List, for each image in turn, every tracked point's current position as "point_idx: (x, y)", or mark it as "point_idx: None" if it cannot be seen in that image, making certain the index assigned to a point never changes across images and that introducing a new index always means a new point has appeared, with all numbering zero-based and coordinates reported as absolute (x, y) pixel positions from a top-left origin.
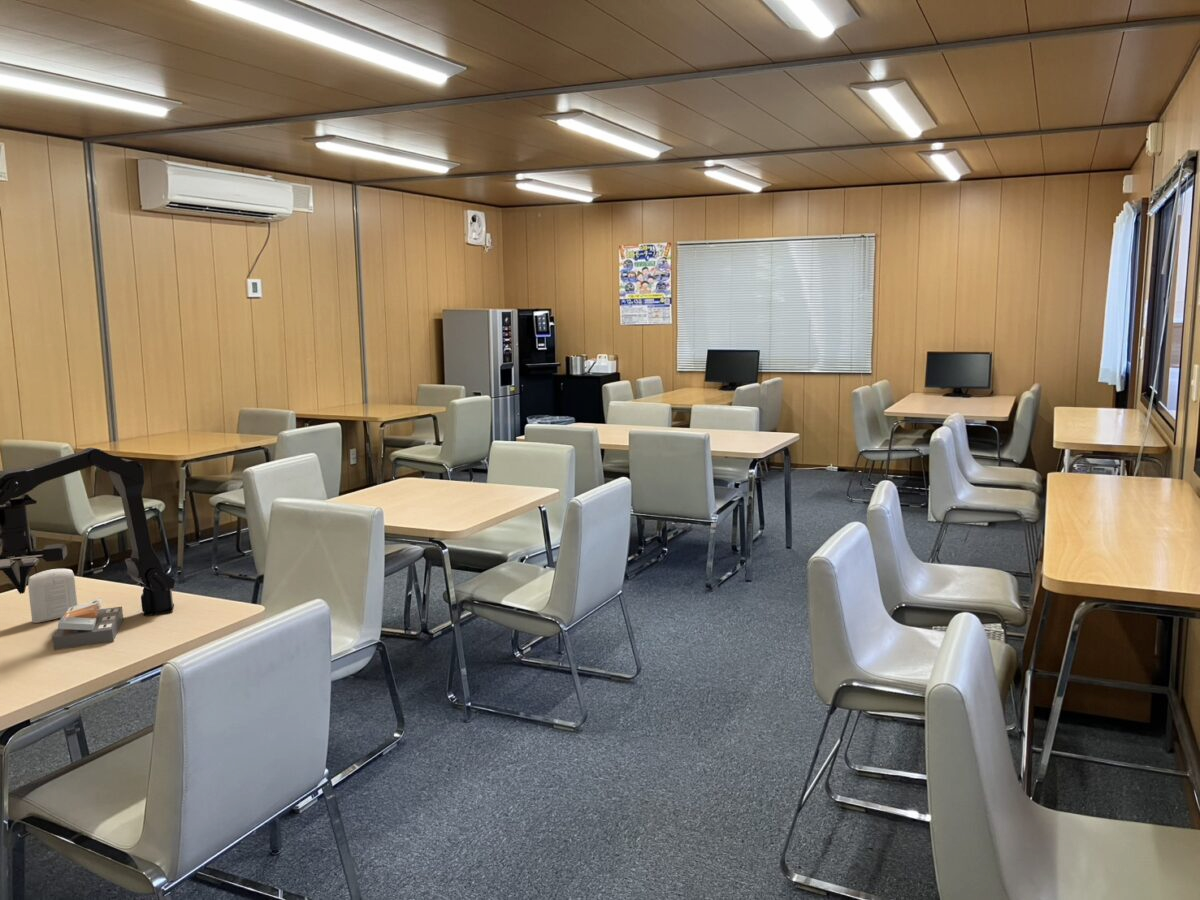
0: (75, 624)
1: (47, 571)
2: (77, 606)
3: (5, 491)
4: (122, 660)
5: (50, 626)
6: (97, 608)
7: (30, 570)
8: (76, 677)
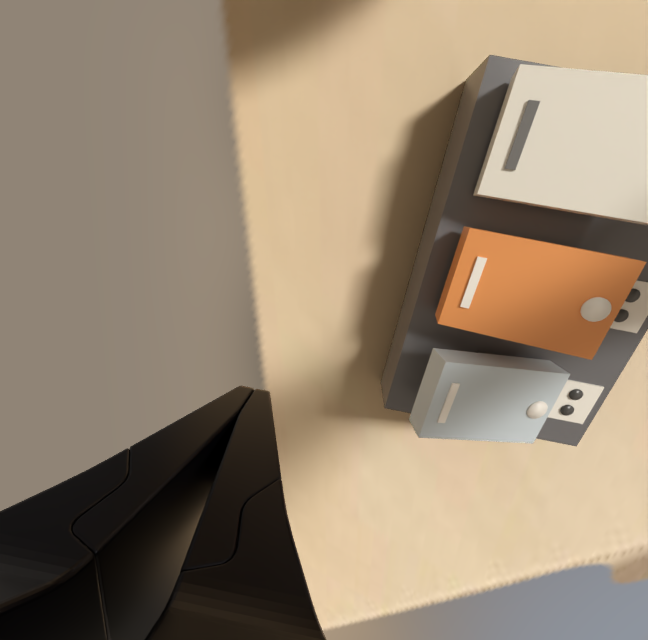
0: (474, 438)
1: None
2: (563, 109)
3: None
4: (518, 550)
5: (392, 42)
6: (630, 277)
7: (299, 591)
8: (408, 577)
